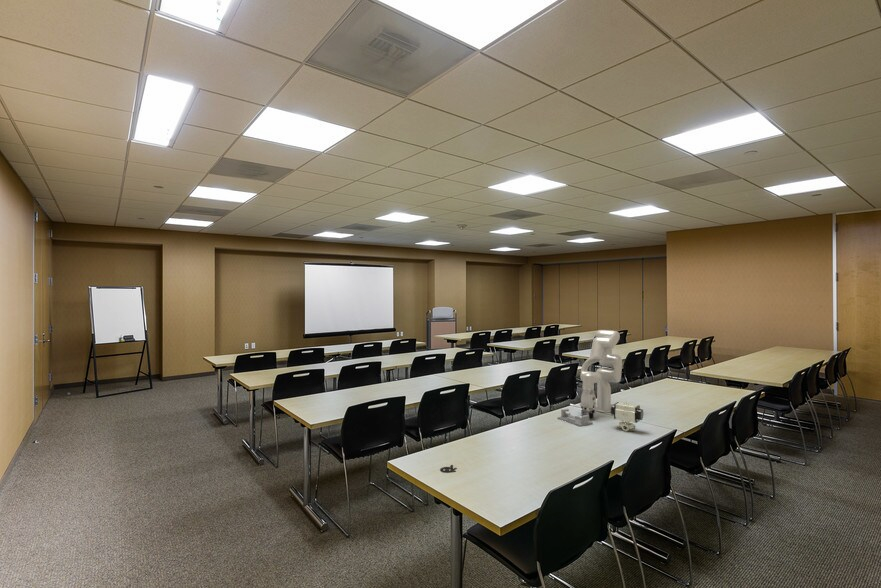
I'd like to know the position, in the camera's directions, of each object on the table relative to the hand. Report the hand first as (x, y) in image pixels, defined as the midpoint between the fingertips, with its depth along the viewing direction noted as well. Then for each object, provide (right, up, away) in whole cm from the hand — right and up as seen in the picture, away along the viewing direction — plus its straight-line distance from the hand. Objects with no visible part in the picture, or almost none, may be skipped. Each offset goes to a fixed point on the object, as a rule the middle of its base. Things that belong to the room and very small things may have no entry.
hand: (588, 417), depth 293 cm
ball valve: (+16, -1, -24) cm, 29 cm away
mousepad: (-97, -1, -84) cm, 129 cm away
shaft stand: (-11, -1, -6) cm, 13 cm away
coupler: (0, -1, 0) cm, 1 cm away
